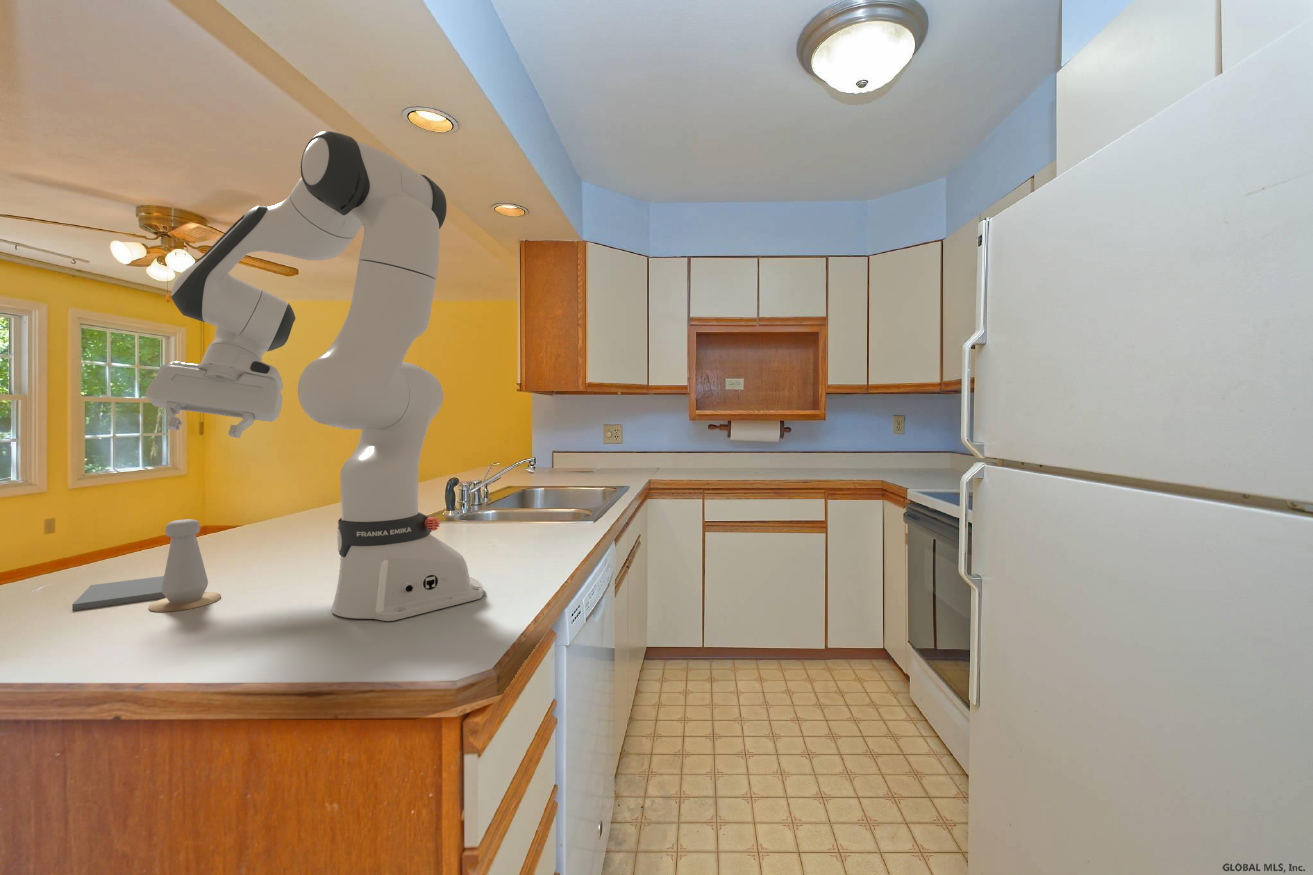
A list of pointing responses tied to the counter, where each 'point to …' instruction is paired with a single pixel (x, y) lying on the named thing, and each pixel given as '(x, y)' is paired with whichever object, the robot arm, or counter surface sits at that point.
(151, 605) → the coaster
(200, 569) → the salt shaker
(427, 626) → the counter surface
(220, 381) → the robot arm
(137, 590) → the mat
